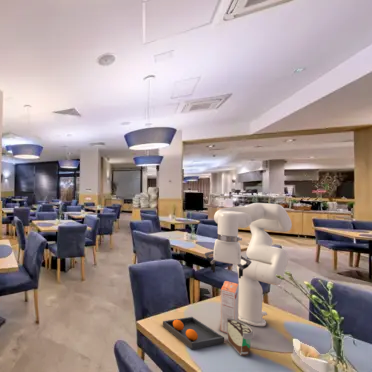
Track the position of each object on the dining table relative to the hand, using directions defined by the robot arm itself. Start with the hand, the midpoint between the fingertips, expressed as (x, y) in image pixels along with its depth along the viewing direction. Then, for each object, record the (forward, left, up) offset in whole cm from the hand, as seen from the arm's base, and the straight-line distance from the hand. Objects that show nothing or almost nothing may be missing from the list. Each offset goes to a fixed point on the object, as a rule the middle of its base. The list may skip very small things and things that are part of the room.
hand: (226, 274), depth 109 cm
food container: (+2, +9, -29) cm, 30 cm away
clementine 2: (+20, 0, -26) cm, 32 cm away
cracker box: (-8, -4, -29) cm, 30 cm away
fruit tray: (+15, -4, -29) cm, 33 cm away
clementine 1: (+20, -8, -26) cm, 33 cm away
